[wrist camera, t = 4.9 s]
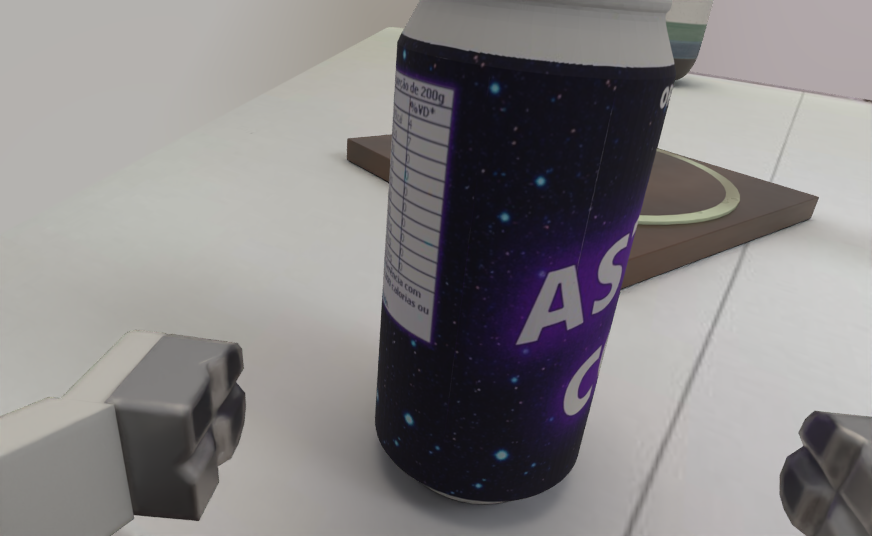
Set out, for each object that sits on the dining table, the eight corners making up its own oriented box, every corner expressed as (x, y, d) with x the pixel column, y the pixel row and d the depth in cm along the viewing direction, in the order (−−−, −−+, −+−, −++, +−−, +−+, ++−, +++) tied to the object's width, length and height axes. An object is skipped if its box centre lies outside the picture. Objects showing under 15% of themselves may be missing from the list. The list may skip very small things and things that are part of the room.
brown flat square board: (346, 159, 41) (347, 134, 41) (558, 135, 54) (561, 116, 53) (601, 296, 26) (609, 261, 26) (811, 218, 39) (820, 193, 38)
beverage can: (494, 572, 14) (611, -10, 8) (331, 443, 17) (340, -37, 11) (608, 449, 18) (735, 4, 12) (459, 364, 21) (509, -19, 15)
